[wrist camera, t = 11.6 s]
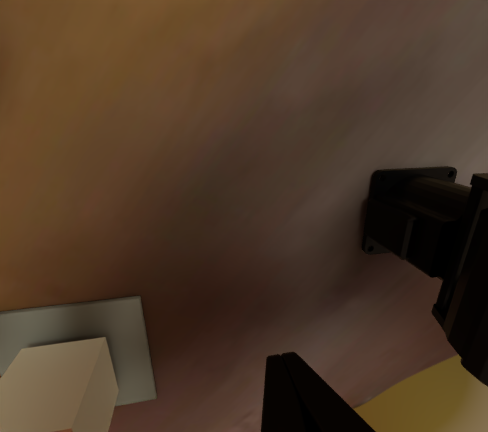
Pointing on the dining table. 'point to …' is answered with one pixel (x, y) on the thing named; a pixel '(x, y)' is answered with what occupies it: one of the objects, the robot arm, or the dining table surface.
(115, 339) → the grey flat square slab
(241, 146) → the dining table surface
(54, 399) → the cream orange-topped box
